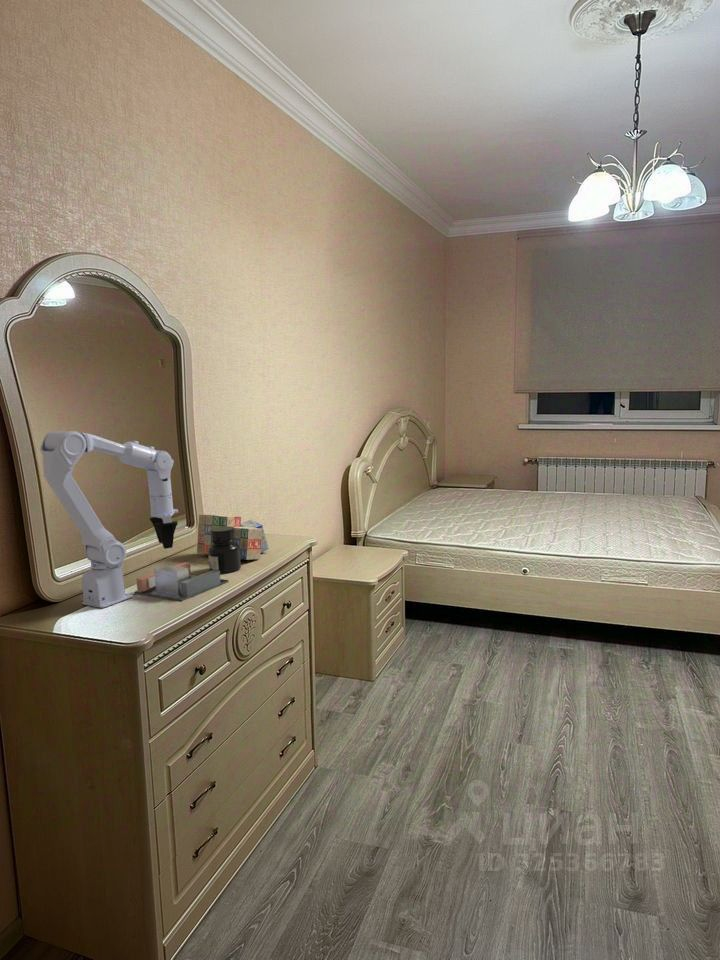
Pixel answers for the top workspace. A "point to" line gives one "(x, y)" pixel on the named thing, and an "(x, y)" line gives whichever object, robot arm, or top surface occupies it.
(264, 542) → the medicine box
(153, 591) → the vise bed
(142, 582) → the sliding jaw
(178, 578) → the steel block
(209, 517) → the stack of blocks
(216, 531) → the ink bottle
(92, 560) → the robot arm
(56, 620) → the top surface
